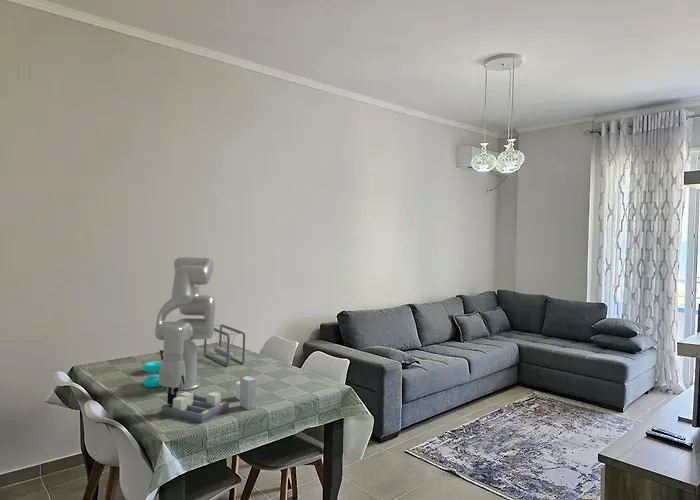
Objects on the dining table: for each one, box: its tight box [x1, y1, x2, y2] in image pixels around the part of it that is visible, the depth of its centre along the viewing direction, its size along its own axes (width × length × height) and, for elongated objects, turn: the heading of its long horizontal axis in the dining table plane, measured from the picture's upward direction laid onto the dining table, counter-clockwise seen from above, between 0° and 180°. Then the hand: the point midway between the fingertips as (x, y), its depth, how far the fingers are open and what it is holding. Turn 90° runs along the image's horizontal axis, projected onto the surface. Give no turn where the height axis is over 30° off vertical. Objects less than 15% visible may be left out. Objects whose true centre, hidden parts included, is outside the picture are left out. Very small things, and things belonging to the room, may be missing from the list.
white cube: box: [173, 395, 187, 410], centre depth 186 cm, size 4×4×4 cm
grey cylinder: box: [234, 380, 240, 401], centre depth 207 cm, size 7×7×7 cm
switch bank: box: [160, 394, 230, 424], centre depth 189 cm, size 20×16×3 cm
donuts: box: [142, 360, 162, 388], centre depth 220 cm, size 10×10×10 cm
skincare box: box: [239, 375, 257, 410], centre depth 196 cm, size 6×4×12 cm
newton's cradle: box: [203, 324, 246, 367], centre depth 267 cm, size 30×10×18 cm, turn 41°
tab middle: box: [178, 391, 194, 405], centre depth 191 cm, size 4×4×4 cm
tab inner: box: [206, 391, 222, 405], centre depth 192 cm, size 4×4×4 cm
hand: (171, 402), depth 187 cm, fingers closed
